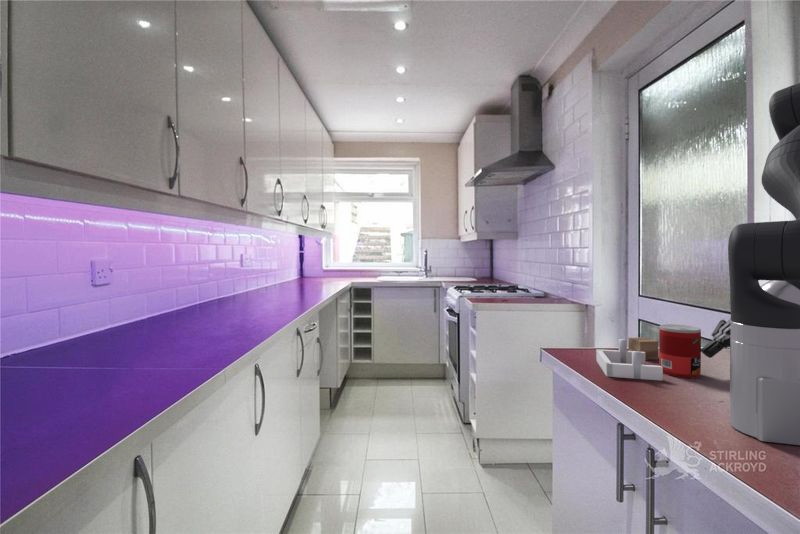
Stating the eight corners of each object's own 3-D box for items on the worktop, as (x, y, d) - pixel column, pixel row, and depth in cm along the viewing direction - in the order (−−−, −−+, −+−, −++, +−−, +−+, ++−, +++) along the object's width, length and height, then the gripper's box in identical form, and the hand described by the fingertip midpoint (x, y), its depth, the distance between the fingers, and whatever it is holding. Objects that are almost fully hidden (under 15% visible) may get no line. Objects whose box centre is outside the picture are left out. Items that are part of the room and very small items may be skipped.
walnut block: (658, 359, 103) (658, 341, 103) (640, 360, 103) (640, 341, 103) (645, 354, 108) (645, 337, 108) (628, 355, 108) (628, 337, 108)
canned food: (701, 380, 86) (701, 331, 86) (658, 374, 91) (658, 328, 90) (700, 372, 92) (700, 326, 92) (660, 366, 97) (660, 323, 96)
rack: (663, 381, 86) (663, 354, 86) (606, 376, 89) (606, 351, 89) (643, 362, 100) (643, 340, 100) (595, 359, 104) (595, 337, 103)
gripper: (741, 288, 92) (680, 336, 97) (774, 293, 80) (703, 348, 84) (768, 311, 91) (705, 359, 95) (806, 320, 78) (732, 375, 83)
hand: (704, 354), depth 90 cm, fingers closed
